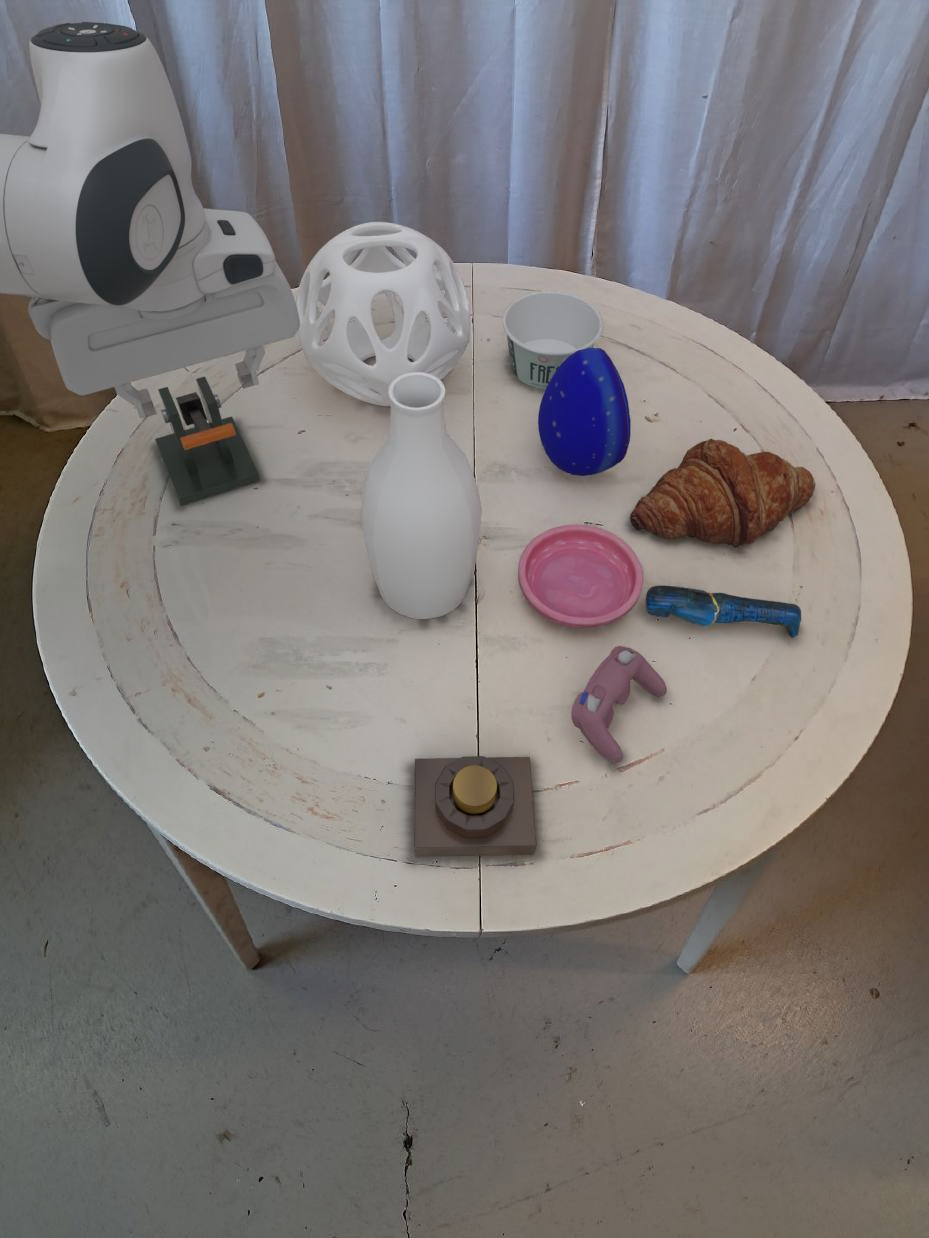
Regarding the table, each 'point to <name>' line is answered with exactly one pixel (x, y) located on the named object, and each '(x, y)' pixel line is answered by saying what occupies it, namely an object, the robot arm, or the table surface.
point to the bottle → (420, 505)
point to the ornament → (585, 414)
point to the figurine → (720, 608)
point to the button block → (473, 834)
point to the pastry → (723, 495)
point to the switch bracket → (203, 453)
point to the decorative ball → (417, 292)
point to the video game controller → (612, 697)
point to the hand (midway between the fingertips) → (198, 397)
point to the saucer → (580, 576)
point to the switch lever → (200, 423)
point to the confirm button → (474, 789)
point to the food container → (548, 333)
